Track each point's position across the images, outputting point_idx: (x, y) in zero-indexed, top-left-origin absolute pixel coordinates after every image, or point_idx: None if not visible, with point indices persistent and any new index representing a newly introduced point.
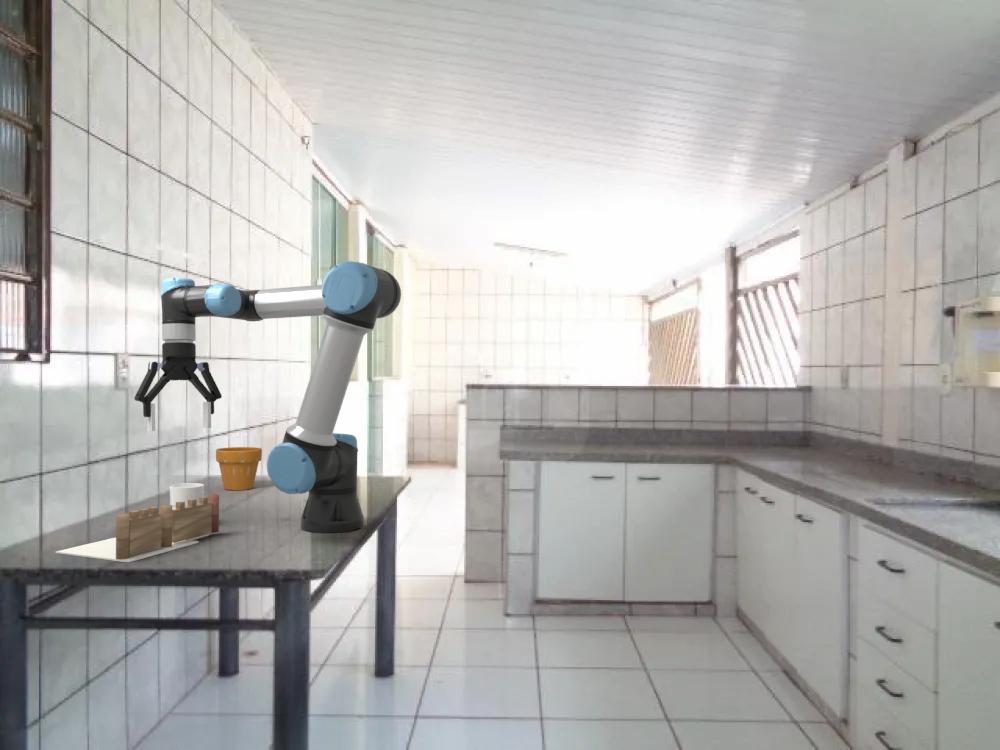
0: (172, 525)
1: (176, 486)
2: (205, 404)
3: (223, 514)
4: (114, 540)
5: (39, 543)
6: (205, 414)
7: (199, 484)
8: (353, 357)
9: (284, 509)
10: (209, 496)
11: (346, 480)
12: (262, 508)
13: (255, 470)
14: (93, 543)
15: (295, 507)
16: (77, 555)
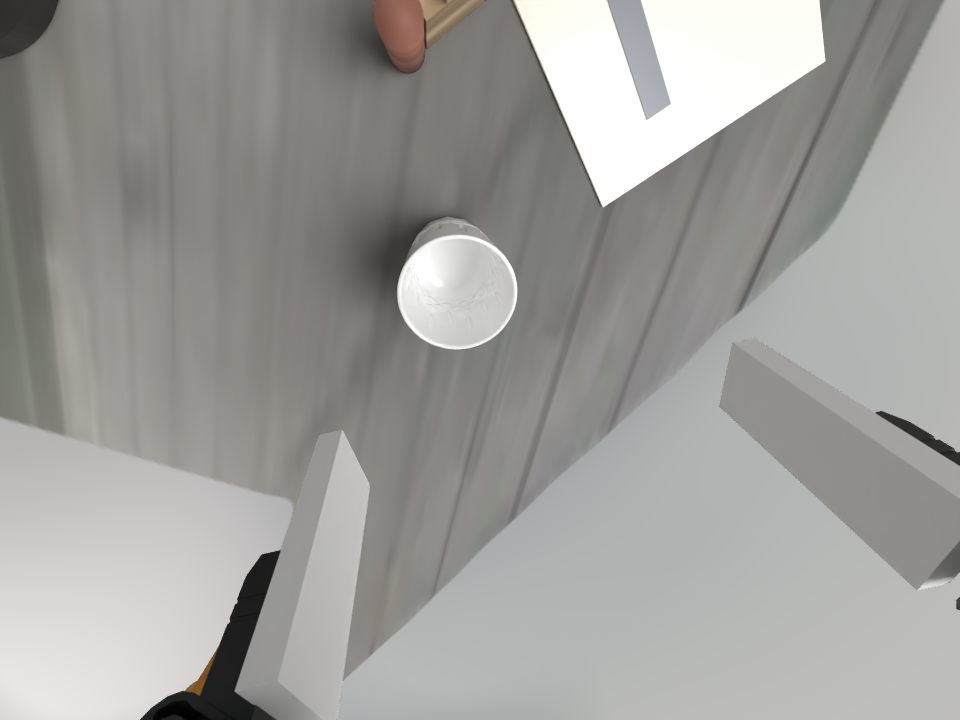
0: None
1: (482, 336)
2: (316, 667)
3: (334, 367)
4: (665, 132)
5: (780, 225)
6: (339, 554)
7: (409, 318)
8: None
9: (151, 361)
10: (420, 4)
11: None
12: (220, 401)
13: (211, 658)
14: (717, 121)
15: (114, 376)
16: None
